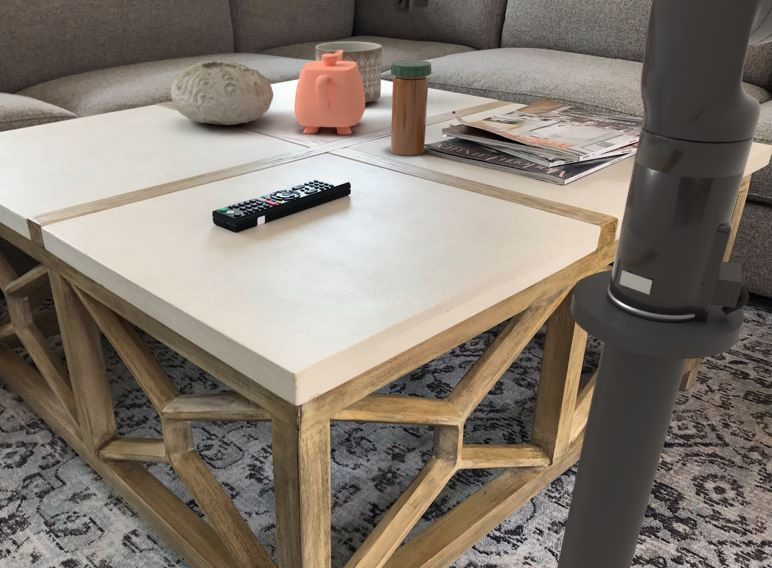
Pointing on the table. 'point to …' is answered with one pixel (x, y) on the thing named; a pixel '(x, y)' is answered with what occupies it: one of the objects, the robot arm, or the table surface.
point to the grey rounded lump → (221, 93)
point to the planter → (359, 63)
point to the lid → (411, 68)
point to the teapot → (329, 94)
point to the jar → (409, 115)
